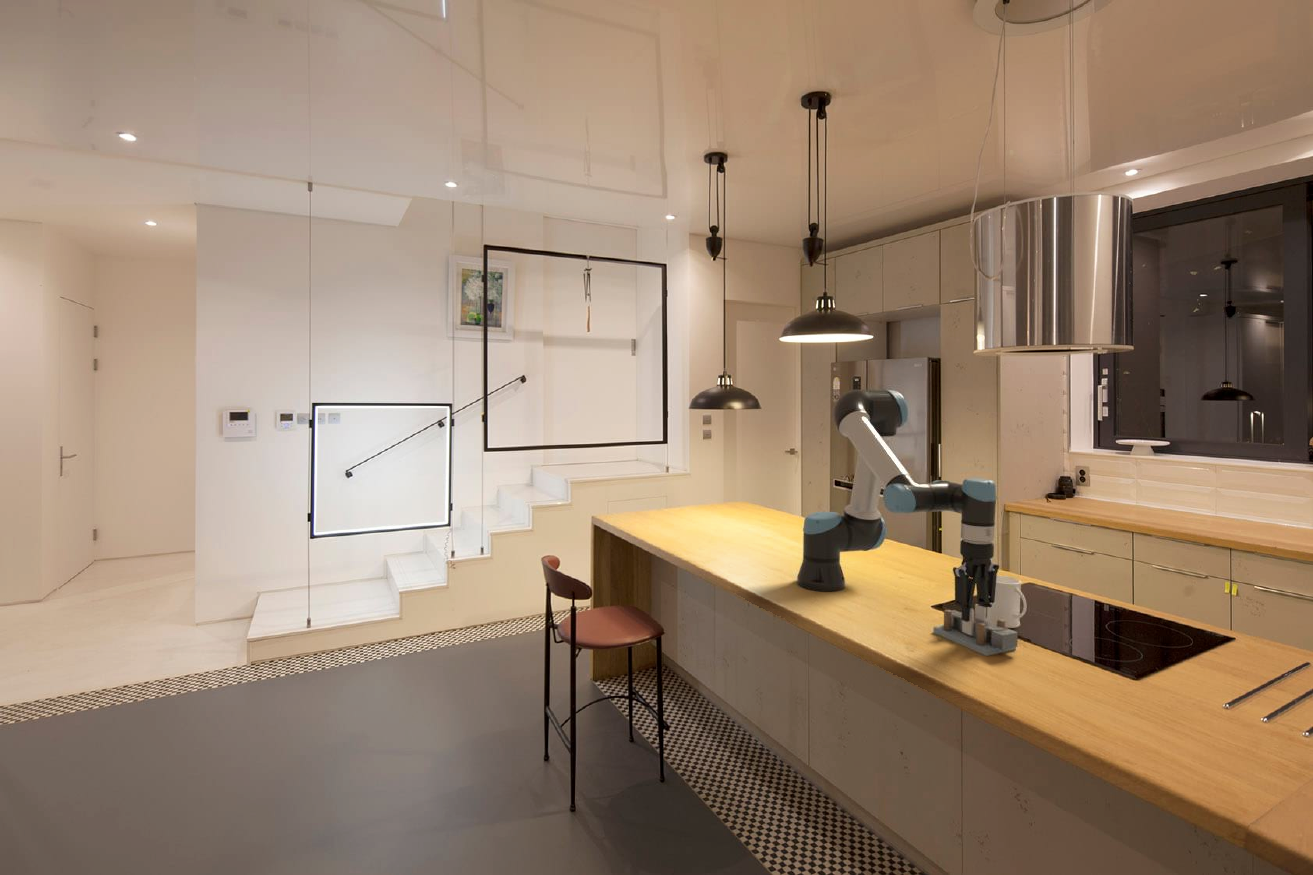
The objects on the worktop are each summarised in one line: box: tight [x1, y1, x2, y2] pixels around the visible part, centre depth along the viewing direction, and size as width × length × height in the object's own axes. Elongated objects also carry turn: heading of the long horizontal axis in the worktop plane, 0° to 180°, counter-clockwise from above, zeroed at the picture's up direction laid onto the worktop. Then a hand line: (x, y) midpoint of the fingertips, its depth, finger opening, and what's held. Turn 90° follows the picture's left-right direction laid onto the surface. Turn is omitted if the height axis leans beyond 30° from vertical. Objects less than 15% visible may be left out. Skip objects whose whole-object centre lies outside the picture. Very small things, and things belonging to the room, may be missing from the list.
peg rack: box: [932, 609, 1017, 657], centre depth 159 cm, size 16×10×6 cm, turn 22°
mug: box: [986, 574, 1028, 629], centre depth 170 cm, size 12×8×12 cm
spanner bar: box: [951, 609, 1019, 650], centre depth 157 cm, size 18×5×4 cm, turn 22°
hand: (973, 631), depth 159 cm, fingers closed on spanner bar, 3 cm apart
